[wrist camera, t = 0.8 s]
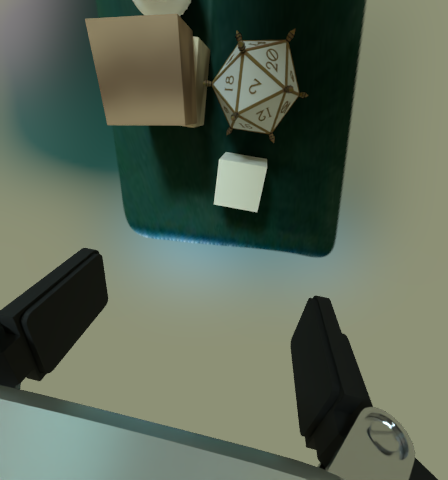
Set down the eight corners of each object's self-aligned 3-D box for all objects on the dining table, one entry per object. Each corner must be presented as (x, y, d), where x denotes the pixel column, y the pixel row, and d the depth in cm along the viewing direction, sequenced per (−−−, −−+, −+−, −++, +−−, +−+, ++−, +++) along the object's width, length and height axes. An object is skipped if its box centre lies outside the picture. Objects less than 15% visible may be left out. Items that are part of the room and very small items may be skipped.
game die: (246, 81, 28) (211, -12, 19) (319, 86, 25) (320, -25, 16) (220, 152, 28) (172, 93, 19) (290, 166, 25) (273, 103, 16)
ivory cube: (226, 151, 29) (219, 159, 24) (266, 158, 28) (267, 167, 24) (220, 191, 31) (213, 204, 27) (258, 198, 31) (257, 212, 27)
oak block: (145, 41, 25) (120, 26, 21) (210, 50, 24) (198, 37, 20) (146, 115, 28) (125, 116, 24) (204, 125, 28) (192, 127, 23)
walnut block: (114, 34, 21) (85, 18, 17) (192, 30, 20) (177, 13, 16) (130, 123, 24) (107, 125, 21) (197, 123, 23) (185, 125, 20)
